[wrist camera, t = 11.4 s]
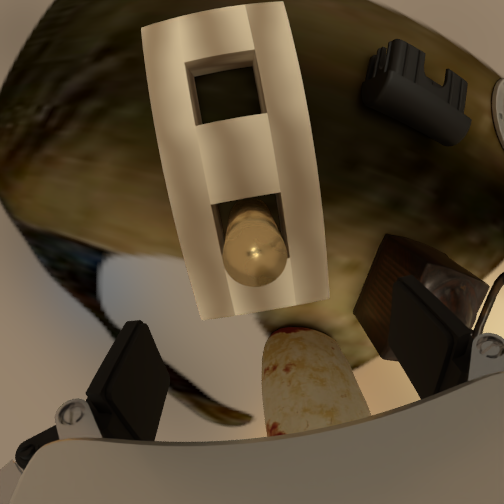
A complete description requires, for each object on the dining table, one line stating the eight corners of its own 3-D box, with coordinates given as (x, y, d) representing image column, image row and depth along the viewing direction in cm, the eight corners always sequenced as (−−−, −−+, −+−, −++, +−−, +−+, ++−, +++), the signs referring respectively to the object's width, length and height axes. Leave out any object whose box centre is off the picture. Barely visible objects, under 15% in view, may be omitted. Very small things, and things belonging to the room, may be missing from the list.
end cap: (353, 110, 25) (383, 101, 19) (366, 52, 23) (396, 32, 16) (429, 145, 26) (467, 149, 20) (439, 92, 24) (477, 86, 18)
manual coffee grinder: (416, 324, 34) (487, 415, 17) (350, 313, 33) (416, 431, 16) (462, 217, 29) (570, 272, 12) (398, 187, 28) (529, 237, 11)
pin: (267, 194, 28) (282, 221, 17) (273, 233, 29) (290, 281, 19) (226, 201, 28) (216, 232, 17) (233, 240, 29) (229, 291, 19)
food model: (342, 319, 33) (412, 459, 14) (327, 361, 35) (374, 495, 16) (260, 313, 32) (280, 479, 13) (252, 358, 34) (262, 509, 15)
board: (276, 23, 22) (283, 1, 17) (317, 276, 31) (329, 298, 26) (156, 45, 22) (141, 27, 17) (206, 295, 31) (201, 320, 26)
